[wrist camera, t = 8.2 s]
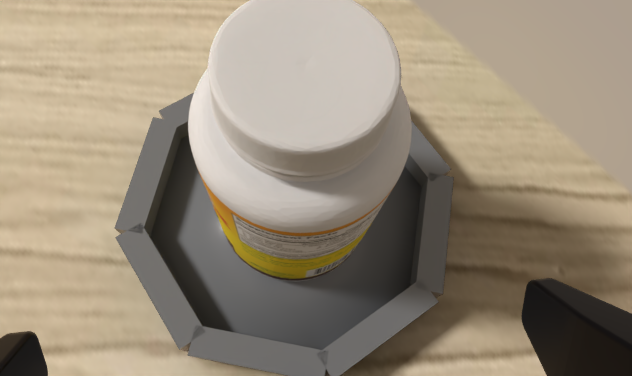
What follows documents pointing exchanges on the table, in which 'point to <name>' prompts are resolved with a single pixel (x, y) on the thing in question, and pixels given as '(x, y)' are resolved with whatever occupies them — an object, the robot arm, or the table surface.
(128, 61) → the table surface
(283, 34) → the supplement bottle
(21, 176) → the table surface
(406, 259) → the dish
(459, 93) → the table surface
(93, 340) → the table surface
